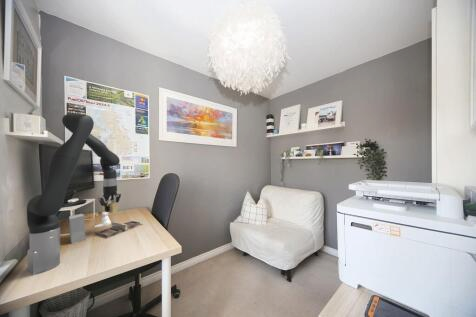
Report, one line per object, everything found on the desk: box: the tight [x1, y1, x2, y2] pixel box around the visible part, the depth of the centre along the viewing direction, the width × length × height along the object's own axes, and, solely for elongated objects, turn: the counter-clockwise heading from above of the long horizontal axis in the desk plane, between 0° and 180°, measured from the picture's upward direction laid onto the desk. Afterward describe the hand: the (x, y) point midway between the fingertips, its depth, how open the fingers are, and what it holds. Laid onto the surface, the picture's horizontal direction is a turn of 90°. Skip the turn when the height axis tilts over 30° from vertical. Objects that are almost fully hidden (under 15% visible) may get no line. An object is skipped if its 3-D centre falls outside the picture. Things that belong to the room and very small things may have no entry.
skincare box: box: [68, 213, 87, 245], centre depth 102 cm, size 8×7×16 cm
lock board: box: [91, 220, 144, 240], centre depth 117 cm, size 25×16×5 cm, turn 157°
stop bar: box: [102, 201, 119, 214], centre depth 112 cm, size 9×4×6 cm, turn 73°
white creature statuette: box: [94, 211, 112, 228], centre depth 126 cm, size 10×9×12 cm
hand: (110, 210), depth 112 cm, fingers closed on stop bar, 3 cm apart
